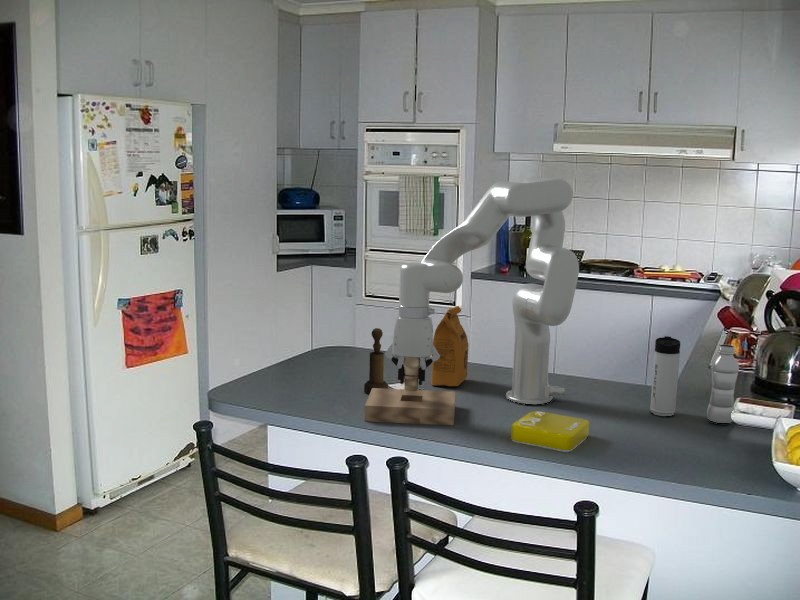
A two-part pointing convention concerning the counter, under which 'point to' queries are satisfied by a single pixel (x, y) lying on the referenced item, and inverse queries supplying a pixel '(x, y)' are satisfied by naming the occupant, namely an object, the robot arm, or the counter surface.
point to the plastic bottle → (723, 385)
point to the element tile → (550, 430)
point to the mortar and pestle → (376, 364)
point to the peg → (411, 373)
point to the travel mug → (665, 375)
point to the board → (410, 406)
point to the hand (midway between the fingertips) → (411, 382)
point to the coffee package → (450, 351)
